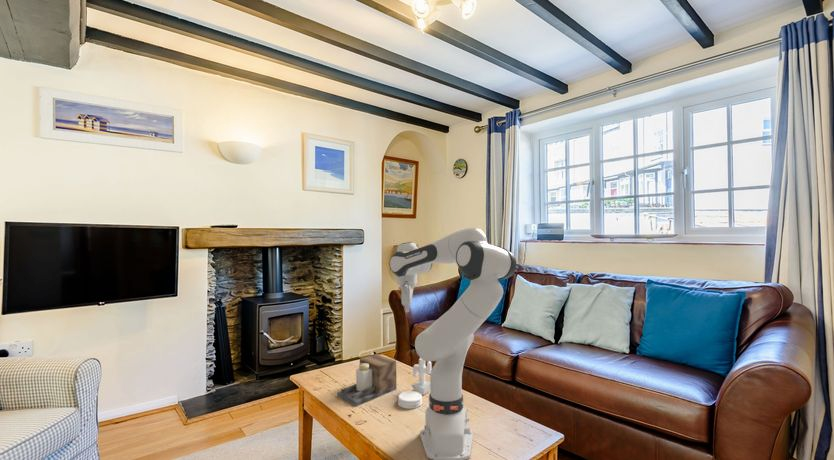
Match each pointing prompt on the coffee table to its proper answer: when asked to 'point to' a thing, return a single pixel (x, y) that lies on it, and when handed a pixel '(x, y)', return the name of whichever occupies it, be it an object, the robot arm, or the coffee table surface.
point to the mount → (373, 381)
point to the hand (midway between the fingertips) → (407, 311)
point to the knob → (363, 377)
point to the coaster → (410, 399)
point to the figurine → (421, 377)
